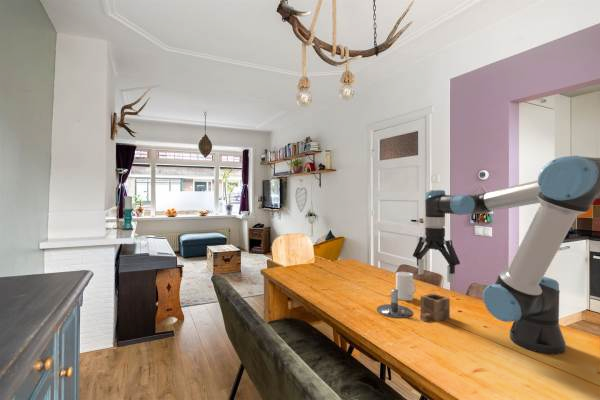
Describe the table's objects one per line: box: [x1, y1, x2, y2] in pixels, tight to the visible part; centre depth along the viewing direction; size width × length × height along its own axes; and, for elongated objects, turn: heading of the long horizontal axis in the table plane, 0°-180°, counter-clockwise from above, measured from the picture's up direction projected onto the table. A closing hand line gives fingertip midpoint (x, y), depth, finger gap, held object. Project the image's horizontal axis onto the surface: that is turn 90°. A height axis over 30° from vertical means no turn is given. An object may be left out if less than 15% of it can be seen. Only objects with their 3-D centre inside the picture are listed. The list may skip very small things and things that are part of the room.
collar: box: [419, 292, 451, 322], centre depth 128 cm, size 12×8×8 cm, turn 122°
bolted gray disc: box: [376, 288, 414, 319], centre depth 135 cm, size 15×15×9 cm
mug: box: [395, 271, 417, 302], centre depth 151 cm, size 12×8×12 cm
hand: (434, 277), depth 129 cm, fingers open, 13 cm apart
